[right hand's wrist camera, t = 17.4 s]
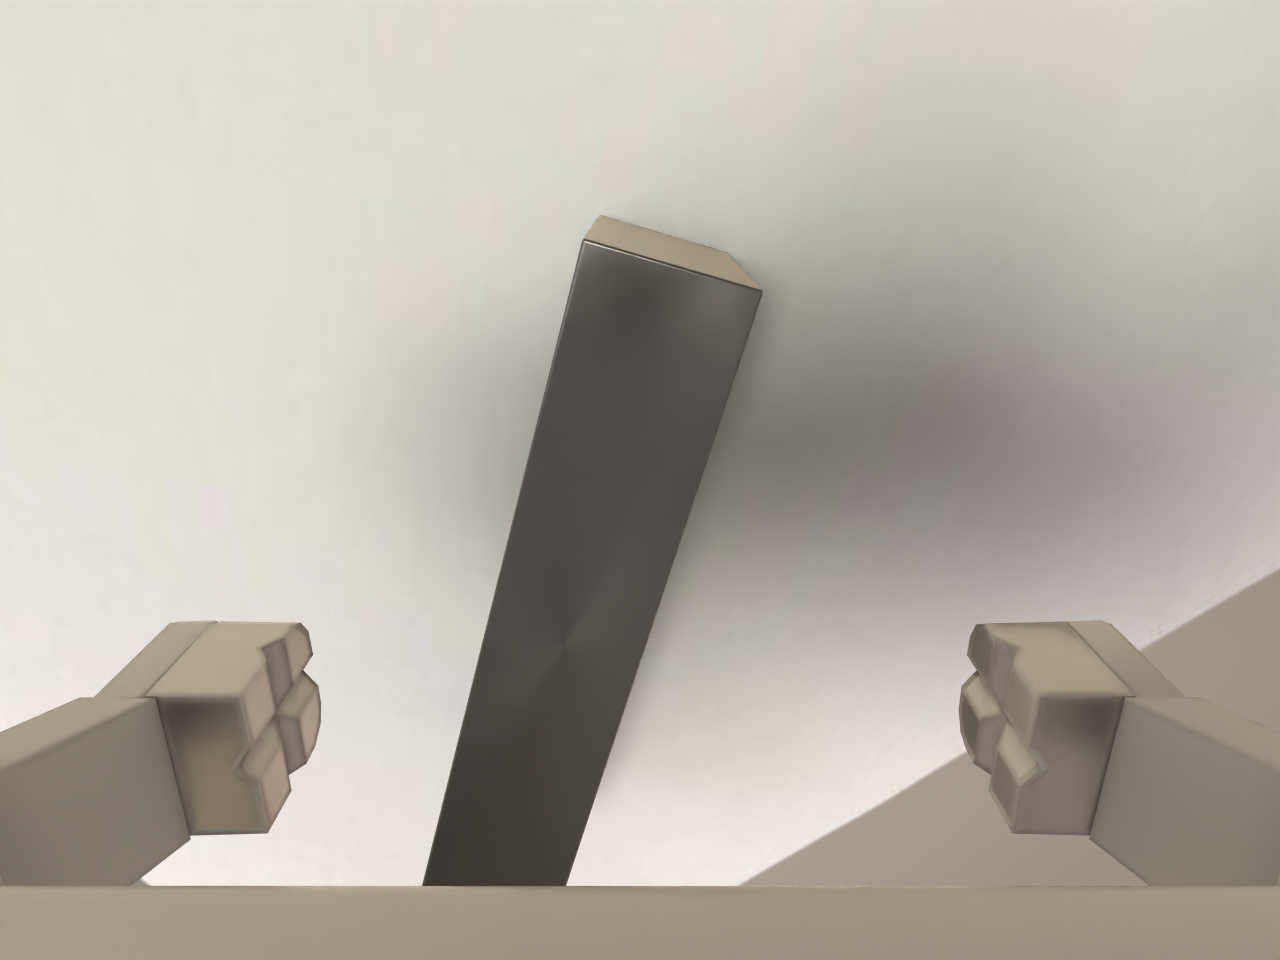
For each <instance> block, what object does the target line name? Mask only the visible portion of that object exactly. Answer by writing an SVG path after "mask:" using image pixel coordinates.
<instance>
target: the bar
mask: <svg viewBox="0 0 1280 960" xmlns="http://www.w3.org/2000/svg"><path fill="white" fill-rule="evenodd" d="M762 294H763V292H762V290H761V289H760V288H759V287H758V285H757V284H756V283H755V282H754V281H753V280H752V279H751V278H750V277H749V276H748V274H747V273H746V272H745V271H744V270H743V269H742V268H741V267H740V266H739V264H738V263H737V262H736V261H735V260H734V259H733V258H732V257H731V256H730V255H729V253H727V252H724V251H720V250H717V249H714V248H710V247H707V246H703V245H700V244H697V243H693V242H690V241H686V240H683V239H680V238H676V237H673V236H669V235H666V234H663V233H659V232H656V231H652V230H649V229H646V228H642V227H639V226H636V225H632V224H629V223H625V222H622V221H619V220H615V219H612V218H608V217H605V216H602V215H600V216H599V217H598V218H597V220H596V221H595V223H594V224H593V226H592V227H591V229H590V230H589V231H588V233H587V234H586V236H585V237H584V239H583V240H582V244H581V248H580V252H579V256H578V260H577V264H576V268H575V272H574V276H573V280H572V284H571V288H570V292H569V296H568V300H567V304H566V308H565V312H564V316H563V320H562V324H561V328H560V332H559V336H558V340H557V344H556V348H555V352H554V356H553V360H552V365H551V369H550V373H549V377H548V381H547V385H546V389H545V393H544V397H543V401H542V405H541V409H540V413H539V417H538V421H537V425H536V429H535V433H534V437H533V441H532V445H531V449H530V453H529V457H528V461H527V465H526V469H525V473H524V477H523V481H522V485H521V489H520V493H519V497H518V501H517V505H516V510H515V514H514V518H513V522H512V526H511V530H510V534H509V538H508V542H507V546H506V550H505V554H504V558H503V562H502V566H501V570H500V574H499V578H498V582H497V586H496V590H495V594H494V598H493V602H492V606H491V610H490V614H489V618H488V622H487V626H486V630H485V634H484V638H483V642H482V646H481V650H480V654H479V659H478V663H477V667H476V671H475V675H474V679H473V683H472V687H471V691H470V695H469V699H468V703H467V707H466V711H465V715H464V719H463V723H462V727H461V731H460V735H459V739H458V743H457V747H456V751H455V755H454V759H453V763H452V767H451V771H450V775H449V779H448V783H447V787H446V791H445V795H444V799H443V803H442V808H441V812H440V816H439V820H438V824H437V828H436V832H435V836H434V840H433V844H432V848H431V852H430V856H429V860H428V864H427V868H426V872H425V876H424V880H423V884H422V886H566V884H567V881H568V878H569V875H570V872H571V869H572V866H573V863H574V860H575V857H576V854H577V851H578V848H579V845H580V842H581V839H582V836H583V833H584V830H585V827H586V824H587V821H588V818H589V815H590V812H591V809H592V806H593V803H594V800H595V797H596V794H597V791H598V788H599V785H600V782H601V779H602V776H603V773H604V770H605V767H606V764H607V761H608V758H609V755H610V752H611V749H612V746H613V743H614V740H615V737H616V734H617V731H618V728H619V725H620V721H621V718H622V715H623V712H624V709H625V706H626V703H627V700H628V697H629V694H630V691H631V688H632V685H633V682H634V679H635V676H636V673H637V670H638V667H639V664H640V661H641V658H642V655H643V652H644V649H645V646H646V643H647V640H648V637H649V634H650V631H651V628H652V625H653V622H654V619H655V616H656V613H657V610H658V607H659V604H660V601H661V598H662V595H663V592H664V589H665V586H666V583H667V580H668V577H669V574H670V571H671V568H672V565H673V562H674V559H675V556H676V553H677V550H678V547H679V544H680V541H681V538H682V535H683V532H684V529H685V526H686V523H687V520H688V517H689V514H690V511H691V508H692V505H693V501H694V498H695V495H696V492H697V489H698V486H699V483H700V480H701V477H702V474H703V471H704V468H705V465H706V462H707V459H708V456H709V453H710V450H711V447H712V444H713V441H714V438H715V435H716V432H717V429H718V426H719V423H720V420H721V417H722V414H723V411H724V408H725V405H726V402H727V399H728V396H729V393H730V390H731V387H732V384H733V381H734V378H735V375H736V372H737V369H738V366H739V363H740V360H741V357H742V354H743V351H744V348H745V345H746V342H747V339H748V336H749V333H750V330H751V327H752V324H753V321H754V318H755V315H756V312H757V309H758V306H759V303H760V300H761V297H762Z"/></svg>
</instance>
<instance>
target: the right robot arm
mask: <svg viewBox="0 0 1280 960" xmlns="http://www.w3.org/2000/svg"><path fill="white" fill-rule="evenodd" d="M312 655H313V652H312V647H311V642H310V638H309V633H308V630H307V629H306V628H305V627H304V626H303V625H302V624H301V623H280V622H228V621H221V622H217V621H180V622H174V623H169V624H168V625H167V626H166V627H165V628H164V629H163V630H162V631H161V632H160V633H159V634H158V635H157V636H156V637H155V638H154V639H153V640H152V641H151V642H150V643H149V644H148V645H147V646H146V647H145V648H144V649H143V650H142V651H141V652H140V653H139V654H138V655H137V656H136V657H135V658H134V659H133V660H132V661H131V662H130V663H129V664H128V665H127V666H126V667H124V668H123V669H122V670H121V671H120V672H119V673H118V674H117V675H116V676H115V677H114V678H113V679H112V680H111V681H110V682H109V683H108V684H107V685H106V686H105V687H104V688H103V689H102V690H101V691H100V692H99V693H98V694H97V695H96V696H95V697H94V698H78V699H76V700H73V701H71V702H69V703H66V704H64V705H62V706H60V707H57V708H55V709H53V710H50V711H48V712H46V713H43V714H41V715H39V716H37V717H34V718H32V719H30V720H27V721H25V722H23V723H20V724H18V725H16V726H14V727H11V728H9V729H7V730H4V731H2V732H0V960H1280V732H1278V731H1275V730H1273V729H1271V728H1269V727H1266V726H1264V725H1262V724H1259V723H1257V722H1255V721H1252V720H1250V719H1248V718H1246V717H1243V716H1241V715H1239V714H1236V713H1234V712H1232V711H1230V710H1227V709H1225V708H1223V707H1220V706H1218V705H1216V704H1213V703H1211V702H1209V701H1207V700H1204V699H1202V698H1186V697H1185V696H1184V695H1183V694H1182V693H1181V692H1180V691H1179V690H1178V689H1177V688H1176V687H1175V686H1174V685H1173V684H1172V683H1171V682H1170V681H1169V680H1168V679H1167V678H1166V677H1165V676H1164V675H1163V674H1162V673H1161V672H1160V671H1159V670H1158V669H1157V668H1156V667H1155V666H1154V665H1153V664H1152V663H1150V661H1149V660H1148V659H1146V658H1145V657H1144V656H1143V655H1142V654H1141V653H1140V652H1139V651H1138V650H1137V649H1136V648H1135V647H1134V646H1133V645H1132V644H1131V643H1130V642H1129V641H1128V640H1127V639H1126V638H1125V637H1124V636H1123V635H1122V634H1121V633H1120V632H1119V631H1118V630H1117V629H1116V628H1115V627H1114V626H1113V625H1112V624H1109V623H1106V622H1104V621H1101V620H1098V621H1073V622H1035V623H994V624H977V625H975V628H974V630H973V632H972V634H971V636H970V641H969V646H968V652H967V655H968V657H969V658H970V660H971V662H972V663H973V665H974V666H975V668H976V669H977V671H976V672H975V673H974V674H973V675H972V676H971V677H970V678H969V679H968V680H967V681H966V682H965V683H964V684H963V685H962V688H961V696H960V704H959V718H960V729H961V734H962V738H963V741H964V744H965V747H966V750H967V752H968V754H969V755H970V757H971V759H972V761H973V763H974V764H975V765H977V766H978V767H980V768H981V769H983V770H984V771H986V772H988V773H989V774H991V780H990V785H989V792H990V794H991V796H992V798H993V799H994V801H995V803H996V805H997V806H998V808H999V810H1000V812H1001V814H1002V815H1003V817H1004V819H1005V821H1006V822H1007V824H1008V826H1009V828H1010V830H1011V831H1012V833H1018V834H1054V835H1090V838H1089V839H1090V840H1091V841H1093V842H1094V843H1095V844H1096V845H1098V846H1099V847H1100V848H1102V849H1103V850H1104V851H1105V852H1107V853H1108V854H1109V855H1111V856H1112V857H1113V858H1115V859H1116V860H1117V861H1118V862H1120V863H1121V864H1122V865H1123V866H1125V867H1126V868H1127V869H1129V870H1130V871H1131V872H1133V873H1134V874H1135V875H1136V876H1138V877H1139V878H1140V879H1141V880H1143V881H1144V882H1145V883H1147V884H1148V885H1149V886H131V885H132V884H134V883H135V882H136V881H137V880H139V879H140V878H141V877H143V876H144V875H145V874H147V873H148V872H149V871H150V870H152V869H153V868H154V867H156V866H157V865H158V864H159V863H161V862H162V861H163V860H165V859H166V858H167V857H168V856H170V855H171V854H172V853H174V852H175V851H176V850H177V849H179V848H180V847H181V846H183V845H184V844H185V843H186V842H188V841H189V840H190V835H225V834H260V833H268V832H269V830H270V828H271V826H272V824H273V823H274V821H275V819H276V817H277V815H278V814H279V812H280V810H281V808H282V807H283V805H284V803H285V801H286V799H287V798H288V796H289V794H290V792H291V785H290V780H289V774H291V773H293V772H294V771H296V770H297V769H299V768H300V767H302V766H303V765H305V764H306V763H307V761H308V759H309V757H310V755H311V753H312V751H313V750H314V748H315V745H316V741H317V736H318V732H319V728H320V723H321V701H320V694H319V688H318V685H317V684H316V683H315V682H314V681H313V680H312V679H311V678H310V677H309V676H308V675H307V674H306V673H305V672H304V671H303V669H304V668H305V666H306V665H307V663H308V662H309V660H310V658H311V657H312Z"/></svg>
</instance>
